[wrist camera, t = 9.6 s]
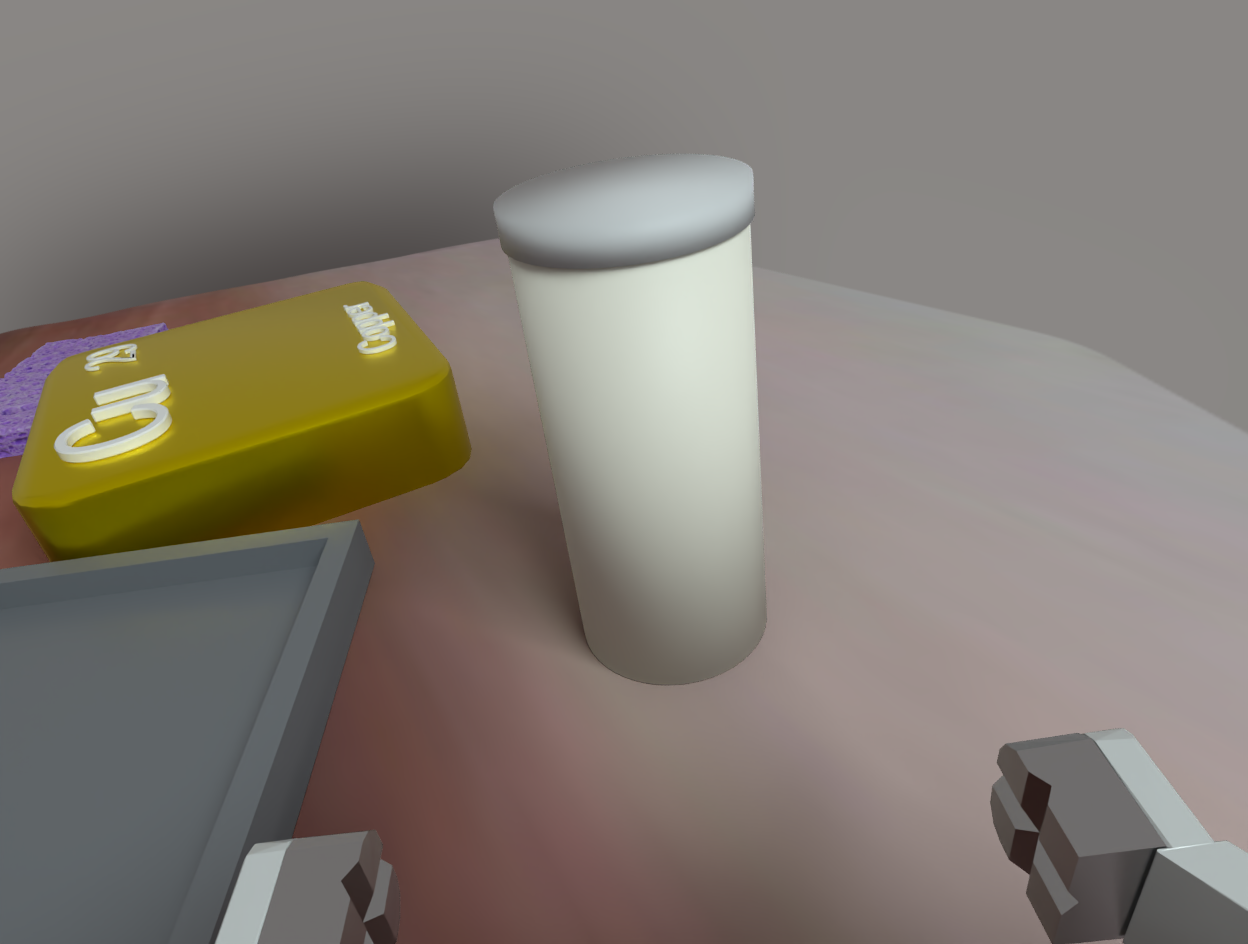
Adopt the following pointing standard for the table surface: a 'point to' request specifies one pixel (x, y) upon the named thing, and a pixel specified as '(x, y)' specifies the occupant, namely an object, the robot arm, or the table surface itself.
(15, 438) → the sponges
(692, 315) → the tin
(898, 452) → the table surface
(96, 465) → the element tile
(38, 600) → the tray
